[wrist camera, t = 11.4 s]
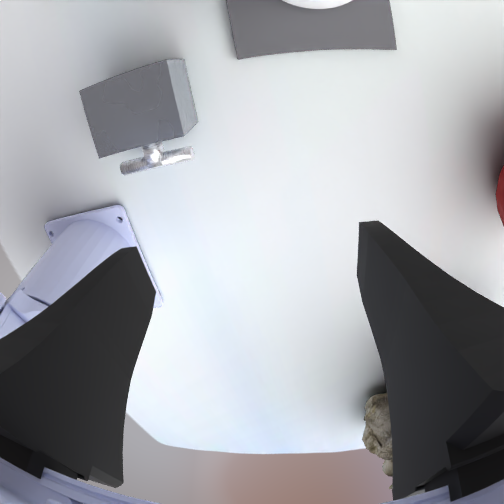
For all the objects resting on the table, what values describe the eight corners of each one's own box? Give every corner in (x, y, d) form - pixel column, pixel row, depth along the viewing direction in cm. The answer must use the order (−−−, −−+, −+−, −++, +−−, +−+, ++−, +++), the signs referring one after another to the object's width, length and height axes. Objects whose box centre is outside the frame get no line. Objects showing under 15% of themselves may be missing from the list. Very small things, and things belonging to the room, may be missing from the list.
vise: (204, 149, 18) (192, 169, 15) (131, 165, 19) (109, 187, 16) (155, -90, 8) (136, -110, 5) (83, -59, 9) (55, -71, 6)
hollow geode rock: (422, 269, 29) (345, 371, 21) (526, 313, 20) (490, 446, 12) (379, 404, 44) (322, 472, 36) (440, 437, 35) (389, 513, 27)
